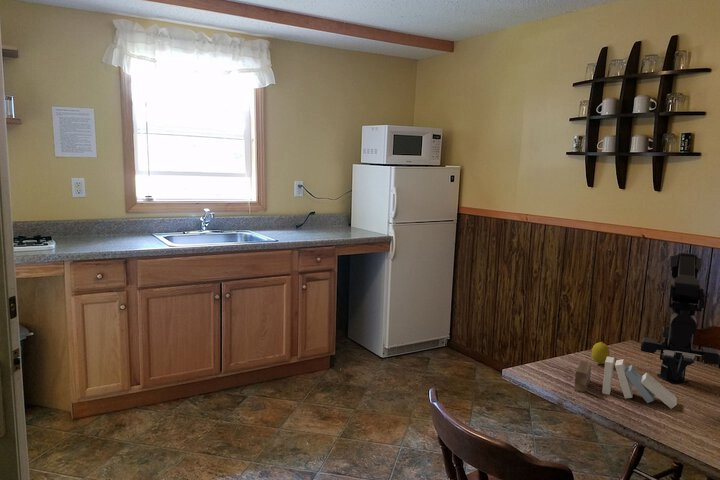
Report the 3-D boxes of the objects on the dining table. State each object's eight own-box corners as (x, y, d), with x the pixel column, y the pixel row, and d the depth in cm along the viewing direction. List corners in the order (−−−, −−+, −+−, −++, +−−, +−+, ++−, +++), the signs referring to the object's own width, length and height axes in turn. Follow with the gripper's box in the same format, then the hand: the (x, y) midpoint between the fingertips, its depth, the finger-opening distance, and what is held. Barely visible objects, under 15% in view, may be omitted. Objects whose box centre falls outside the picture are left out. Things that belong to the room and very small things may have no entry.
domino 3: (676, 397, 148) (646, 372, 151) (676, 404, 144) (645, 378, 147) (671, 402, 149) (641, 376, 152) (671, 408, 145) (640, 382, 148)
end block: (589, 380, 162) (591, 362, 162) (584, 392, 154) (586, 373, 153) (579, 378, 164) (581, 360, 163) (574, 390, 156) (575, 371, 155)
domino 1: (611, 388, 157) (614, 357, 156) (609, 394, 153) (612, 363, 151) (604, 387, 158) (607, 356, 157) (602, 393, 154) (605, 361, 152)
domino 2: (633, 391, 154) (623, 359, 154) (632, 397, 150) (622, 364, 150) (626, 392, 155) (616, 360, 155) (624, 398, 151) (614, 365, 151)
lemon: (611, 367, 174) (613, 344, 172) (594, 367, 174) (596, 344, 173) (603, 361, 179) (605, 339, 178) (588, 360, 179) (589, 339, 178)
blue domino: (654, 394, 151) (632, 364, 153) (653, 400, 147) (630, 370, 149) (648, 396, 152) (626, 367, 154) (647, 403, 148) (624, 373, 150)
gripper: (720, 324, 145) (713, 376, 147) (645, 313, 155) (639, 363, 157) (723, 335, 136) (716, 391, 138) (643, 323, 145) (638, 375, 147)
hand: (675, 379), depth 145 cm, fingers closed
